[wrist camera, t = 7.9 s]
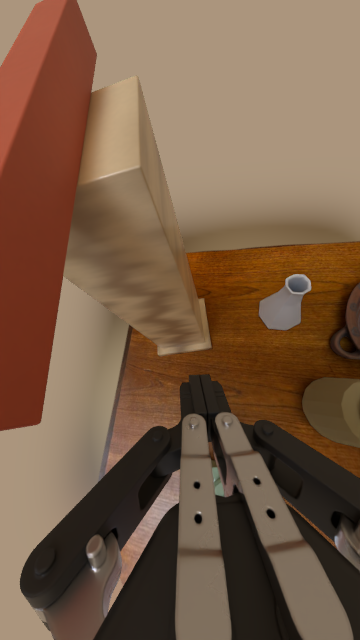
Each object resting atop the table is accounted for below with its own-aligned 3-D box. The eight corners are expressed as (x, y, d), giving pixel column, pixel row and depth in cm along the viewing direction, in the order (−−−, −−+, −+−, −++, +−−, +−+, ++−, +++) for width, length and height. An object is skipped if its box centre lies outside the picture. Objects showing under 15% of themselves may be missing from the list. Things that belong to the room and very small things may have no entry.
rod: (-35, 431, 5) (-223, 458, 3) (65, 68, 13) (34, 4, 11) (41, 424, 5) (-109, 450, 3) (97, 55, 13) (71, -14, 11)
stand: (159, 356, 37) (-47, 236, 9) (157, 309, 41) (6, 117, 12) (211, 348, 36) (166, 174, 7) (204, 300, 39) (154, 59, 11)
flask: (307, 327, 34) (339, 302, 24) (264, 334, 35) (278, 313, 25) (293, 290, 36) (316, 256, 27) (253, 298, 37) (263, 268, 28)
